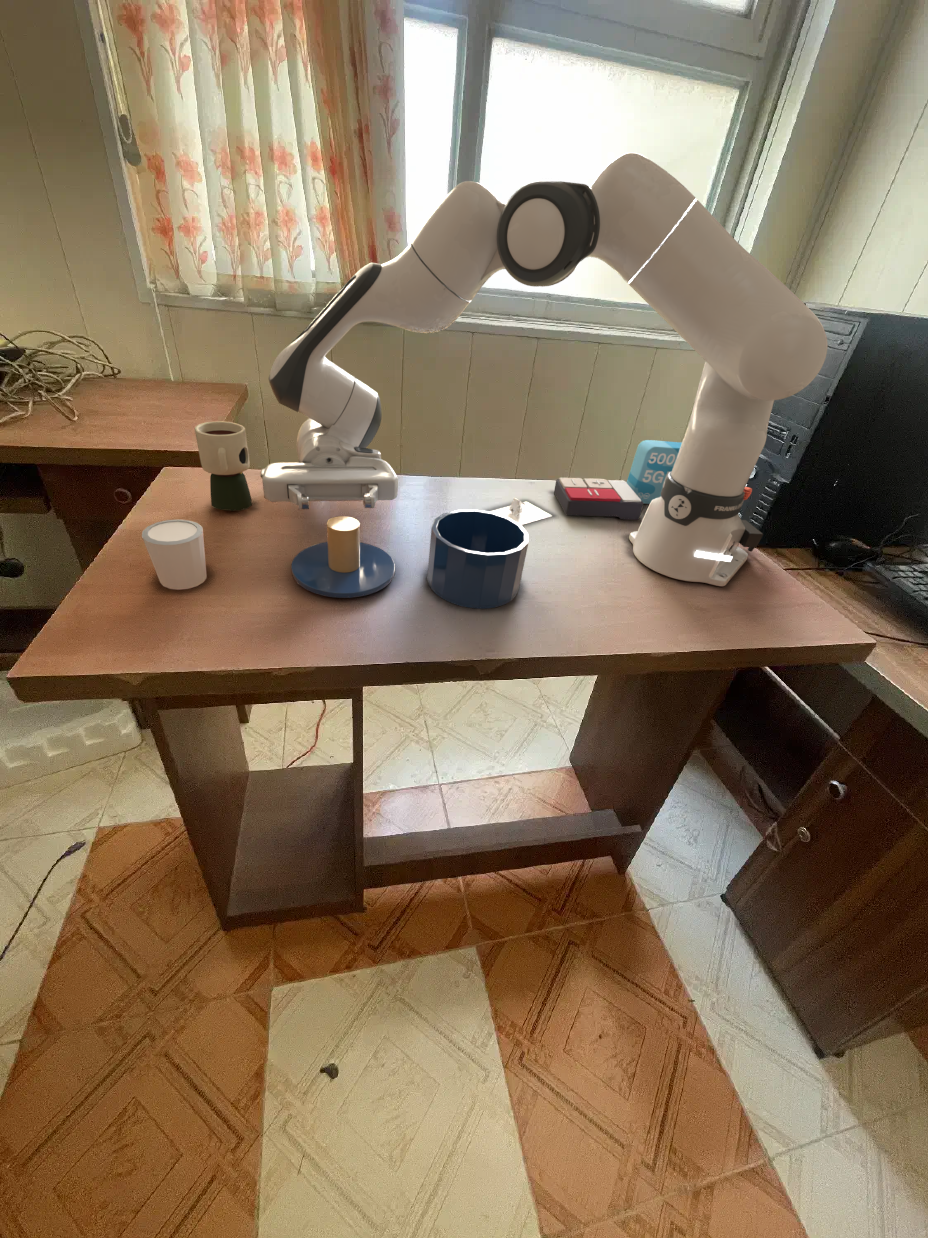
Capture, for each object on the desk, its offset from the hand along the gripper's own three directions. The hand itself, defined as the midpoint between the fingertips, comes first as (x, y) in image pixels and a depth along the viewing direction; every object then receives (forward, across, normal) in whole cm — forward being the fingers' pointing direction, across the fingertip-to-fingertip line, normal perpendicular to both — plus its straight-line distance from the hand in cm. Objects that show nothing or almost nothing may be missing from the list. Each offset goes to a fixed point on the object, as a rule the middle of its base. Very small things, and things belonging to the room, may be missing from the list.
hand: (337, 504), depth 76 cm
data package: (-15, +68, +8) cm, 70 cm away
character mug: (-16, -16, +8) cm, 23 cm away
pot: (+12, +18, +7) cm, 23 cm away
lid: (+7, 0, +7) cm, 10 cm away
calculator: (-13, +52, +8) cm, 54 cm away
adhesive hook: (-10, +35, +8) cm, 37 cm away
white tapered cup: (+6, -21, +8) cm, 23 cm away
